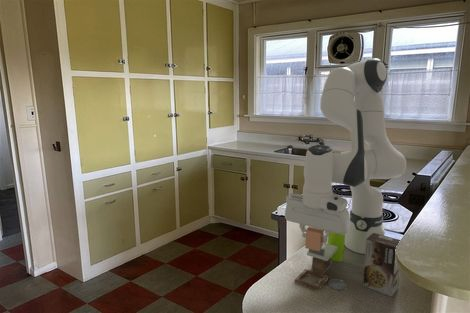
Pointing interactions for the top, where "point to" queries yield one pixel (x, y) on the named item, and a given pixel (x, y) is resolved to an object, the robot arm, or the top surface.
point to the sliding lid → (323, 252)
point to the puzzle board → (315, 273)
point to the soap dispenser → (339, 242)
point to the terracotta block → (314, 238)
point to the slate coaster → (337, 284)
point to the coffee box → (381, 264)
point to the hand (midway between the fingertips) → (314, 239)
